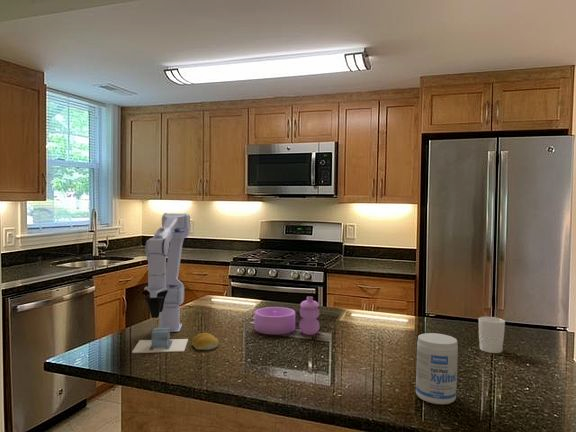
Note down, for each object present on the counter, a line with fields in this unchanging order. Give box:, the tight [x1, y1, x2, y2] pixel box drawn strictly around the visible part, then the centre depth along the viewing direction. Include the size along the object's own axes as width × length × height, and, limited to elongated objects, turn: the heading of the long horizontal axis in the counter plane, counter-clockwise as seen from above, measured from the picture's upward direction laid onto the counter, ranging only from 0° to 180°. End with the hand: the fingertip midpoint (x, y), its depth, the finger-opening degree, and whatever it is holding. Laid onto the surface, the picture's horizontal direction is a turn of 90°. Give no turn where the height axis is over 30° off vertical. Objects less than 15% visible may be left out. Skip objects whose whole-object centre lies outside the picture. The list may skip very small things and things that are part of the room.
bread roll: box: [191, 332, 219, 351], centre depth 147 cm, size 8×9×4 cm
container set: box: [254, 296, 320, 336], centre depth 166 cm, size 25×15×13 cm, turn 69°
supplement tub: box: [415, 332, 459, 405], centre depth 110 cm, size 10×10×15 cm
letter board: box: [131, 338, 189, 354], centre depth 146 cm, size 12×16×1 cm
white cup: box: [478, 316, 506, 354], centre depth 146 cm, size 8×8×10 cm
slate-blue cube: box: [151, 327, 171, 348], centre depth 146 cm, size 5×5×5 cm
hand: (157, 314), depth 149 cm, fingers open, 7 cm apart
